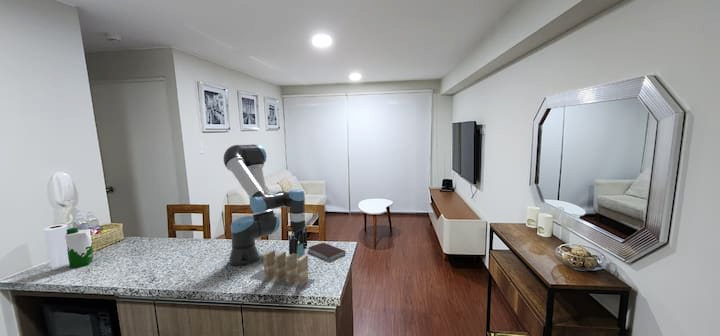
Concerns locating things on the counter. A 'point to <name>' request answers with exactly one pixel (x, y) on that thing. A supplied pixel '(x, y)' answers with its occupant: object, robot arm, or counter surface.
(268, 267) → the light wood flat block
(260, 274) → the runner mat
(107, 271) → the counter surface
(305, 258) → the tile
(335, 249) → the book
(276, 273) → the beige wooden block
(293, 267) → the light wood flat block
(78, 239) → the milk carton
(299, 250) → the tile
